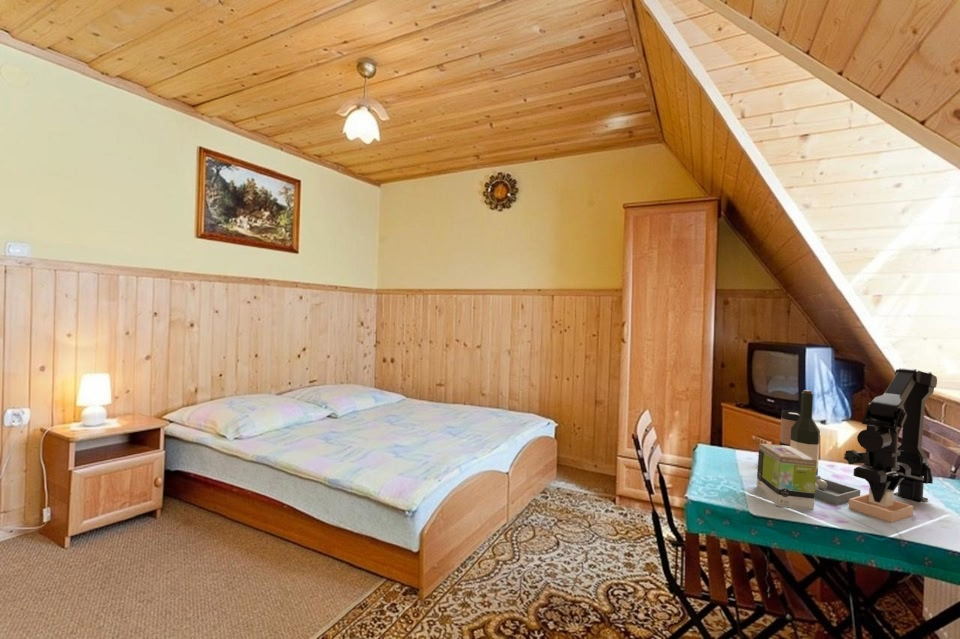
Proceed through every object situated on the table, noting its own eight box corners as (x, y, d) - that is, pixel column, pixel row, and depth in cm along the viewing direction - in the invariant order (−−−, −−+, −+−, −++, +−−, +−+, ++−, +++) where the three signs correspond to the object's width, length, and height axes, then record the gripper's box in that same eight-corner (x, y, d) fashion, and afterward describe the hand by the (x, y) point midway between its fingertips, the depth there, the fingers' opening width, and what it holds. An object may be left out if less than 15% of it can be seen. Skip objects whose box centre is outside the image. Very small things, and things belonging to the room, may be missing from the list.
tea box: (815, 511, 130) (818, 459, 130) (776, 507, 132) (779, 456, 132) (790, 491, 145) (792, 444, 145) (755, 488, 147) (757, 441, 147)
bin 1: (785, 475, 160) (786, 465, 160) (859, 499, 140) (860, 488, 140) (762, 480, 154) (763, 470, 154) (836, 506, 134) (837, 494, 134)
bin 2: (869, 502, 138) (870, 493, 138) (912, 516, 129) (913, 506, 129) (848, 509, 133) (849, 498, 133) (891, 524, 124) (892, 513, 124)
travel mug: (779, 461, 176) (782, 409, 176) (804, 466, 172) (807, 412, 171) (777, 466, 170) (779, 412, 170) (802, 471, 166) (805, 415, 165)
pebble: (809, 489, 146) (809, 479, 146) (820, 493, 143) (821, 482, 143) (803, 490, 145) (804, 480, 145) (814, 494, 142) (815, 484, 142)
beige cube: (875, 499, 134) (876, 485, 134) (893, 504, 130) (893, 490, 130) (868, 501, 132) (869, 487, 132) (886, 507, 128) (886, 492, 128)
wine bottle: (785, 471, 164) (790, 387, 164) (813, 475, 161) (818, 390, 161) (791, 479, 157) (796, 391, 156) (821, 483, 154) (826, 393, 153)
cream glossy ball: (818, 487, 148) (818, 477, 148) (829, 490, 146) (829, 480, 146) (812, 488, 147) (813, 478, 147) (823, 492, 144) (824, 482, 144)
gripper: (866, 435, 142) (863, 486, 142) (833, 441, 134) (830, 495, 134) (913, 445, 132) (910, 500, 132) (880, 452, 124) (877, 510, 124)
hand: (880, 500), depth 131 cm, fingers closed on beige cube, 4 cm apart
